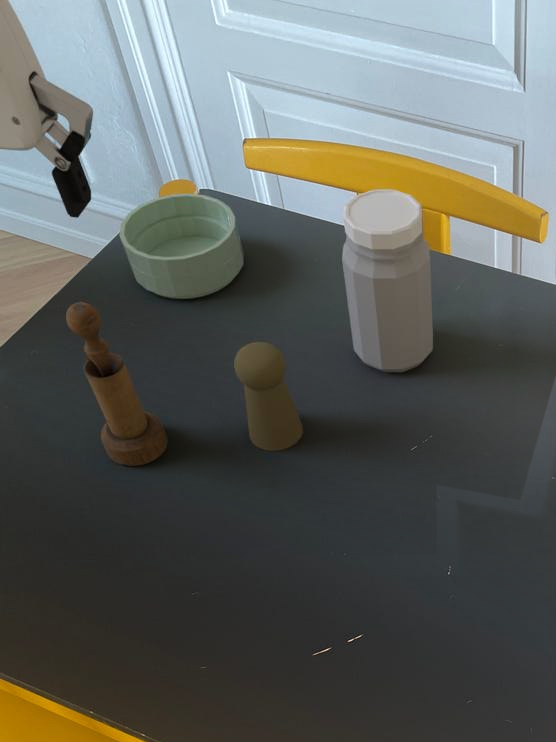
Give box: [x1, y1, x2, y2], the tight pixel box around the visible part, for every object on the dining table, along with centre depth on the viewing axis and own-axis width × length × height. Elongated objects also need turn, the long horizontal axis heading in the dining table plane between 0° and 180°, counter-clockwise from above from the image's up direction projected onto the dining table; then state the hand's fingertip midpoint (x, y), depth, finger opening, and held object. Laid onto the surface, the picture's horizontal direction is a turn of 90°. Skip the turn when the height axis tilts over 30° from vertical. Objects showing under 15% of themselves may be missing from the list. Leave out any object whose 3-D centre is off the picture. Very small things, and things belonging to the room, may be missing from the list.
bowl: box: [119, 193, 245, 300], centre depth 114 cm, size 14×14×6 cm
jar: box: [341, 189, 434, 373], centre depth 100 cm, size 10×10×18 cm
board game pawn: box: [233, 341, 304, 452], centre depth 96 cm, size 6×6×11 cm
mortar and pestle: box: [65, 301, 168, 467], centre depth 91 cm, size 7×6×18 cm
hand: (26, 202), depth 75 cm, fingers open, 9 cm apart
